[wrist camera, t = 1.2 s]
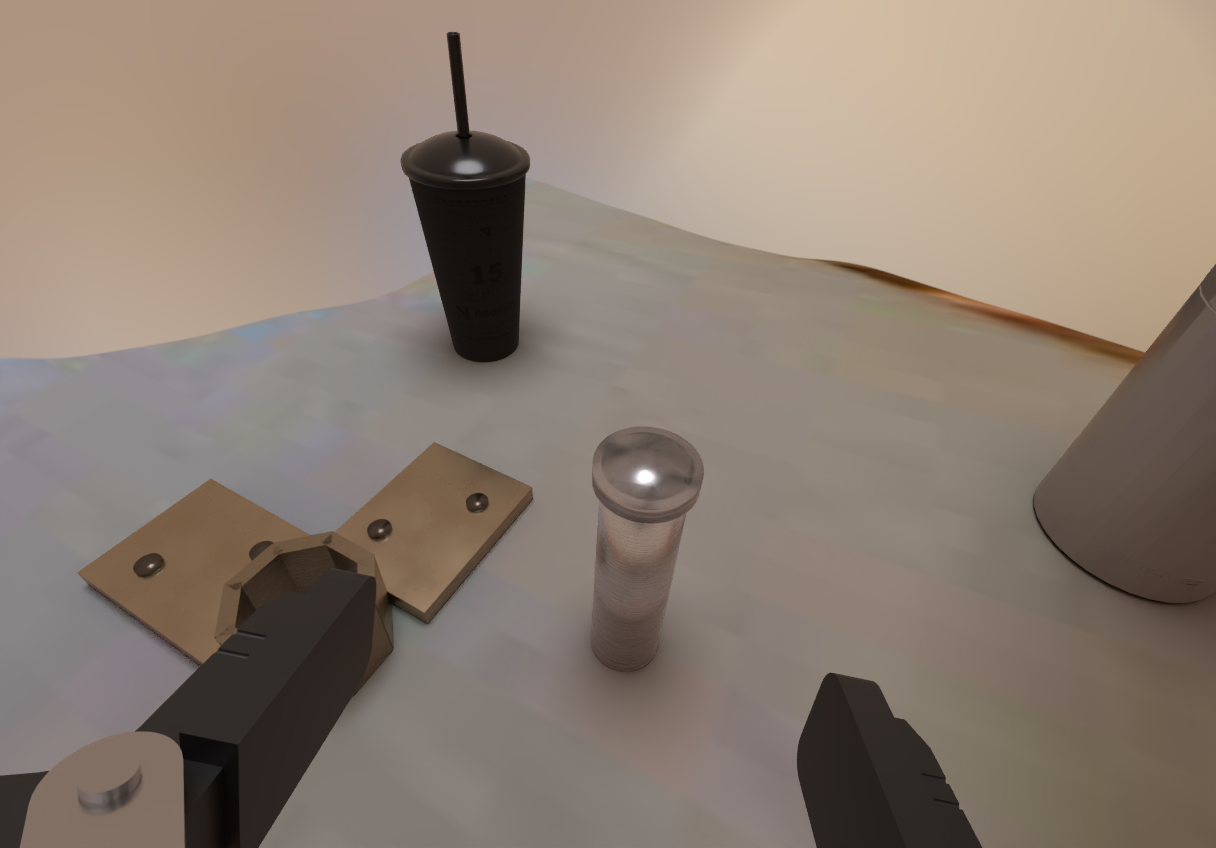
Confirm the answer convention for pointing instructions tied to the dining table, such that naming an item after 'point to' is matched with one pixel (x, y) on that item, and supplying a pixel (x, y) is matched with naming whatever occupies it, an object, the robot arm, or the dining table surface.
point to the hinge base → (309, 553)
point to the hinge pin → (638, 538)
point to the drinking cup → (472, 225)
